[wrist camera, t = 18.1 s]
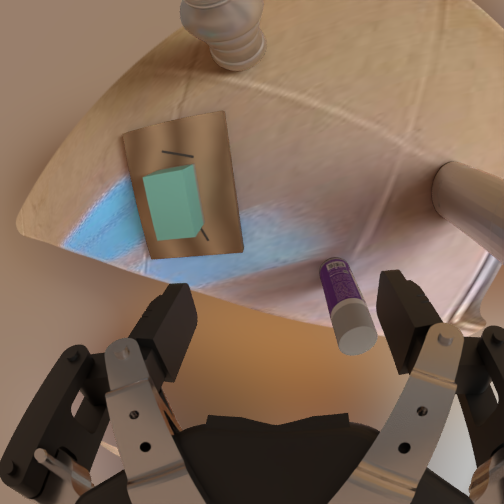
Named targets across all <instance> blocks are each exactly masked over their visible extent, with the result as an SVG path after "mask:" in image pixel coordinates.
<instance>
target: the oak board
mask: <svg viewBox="0 0 504 504" xmlns="http://www.w3.org/2000/svg"><path fill="white" fill-rule="evenodd" d="M123 140H124V146H125V151H126V157H127V162H128V167H129V172H130V177H131V182H132V186H133V191H134V195H135V199H136V204H137V208H138V212H139V216H140V220H141V224H142V228H143V231H144V235H145V239H146V242H147V246H148V249H149V253H150V256H151V259H164V258H177V257H190V256H203V255H216V254H229V253H242V252H243V250H244V245H243V238H242V231H241V224H240V217H239V210H238V203H237V196H236V189H235V182H234V175H233V168H232V160H231V153H230V146H229V139H228V131H227V124H226V117H225V111H218V112H212V113H206V114H201V115H196V116H191V117H186V118H181V119H177V120H172V121H168V122H164V123H160V124H156V125H152V126H148V127H144V128H141V129H137V130H134V131H130V132H127V133H124V134H123ZM193 163H195V169H196V175H197V181H198V186H199V192H200V198H201V203H202V209H203V214H204V220H205V223H204V224H203V226H202V228H201V229H200V231H199V232H198V234H197V235H196V237H191V238H180V239H170V240H160V241H157V237H156V233H155V230H154V226H153V221H152V217H151V213H150V209H149V205H148V200H147V196H146V191H145V186H144V182H143V177H144V176H146V175H149V174H151V173H153V172H155V171H157V170H160V169H165V168H170V167H176V166H182V165H187V164H193Z"/></svg>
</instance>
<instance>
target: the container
mask: <svg viewBox="0 0 504 504" xmlns="http://www.w3.org/2000/svg"><path fill="white" fill-rule="evenodd" d="M319 274H320V278H321V282H322V286H323V290H324V294H325V298H326V302H327V306H328V310H329V314H330V318H331V321H332V325H333V328H334V332H335V336H336V339H337V343H338V347H339V349H340V351H341V352H342V353H344V354H346V355H359V354H362V353H364V352H366V351H368V350H369V349H371V348H372V347H373V346H374V345H375V343H376V341H377V332H376V329H375V326H374V323H373V321H372V318H371V315H370V313H369V310H368V307H367V305H366V302H365V300H364V298H363V296H362V293H361V291H360V289H359V287H358V284H357V282H356V280H355V278H354V276H353V274H352V271H351V269H350V267H349V265H348V263H347V262H346V261H345V260H343V259H341V258H331V259H328V260H327V261H325V262H324V263H323V264H322V266H321V268H320V272H319Z"/></svg>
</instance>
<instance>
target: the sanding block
mask: <svg viewBox="0 0 504 504" xmlns="http://www.w3.org/2000/svg"><path fill="white" fill-rule="evenodd" d="M143 182H144V186H145V191H146V196H147V200H148V205H149V209H150V213H151V217H152V221H153V226H154V230H155V233H156V237H157V241H160V240H170V239H180V238H191V237H196V235H197V234H198V232H199V231H200V229H201V228H202V226H203V224H204V223H205V220H204V214H203V209H202V203H201V198H200V192H199V186H198V181H197V175H196V169H195V163H193V164H187V165H182V166H176V167H170V168H165V169H160V170H157V171H155V172H153V173H151V174H149V175H146V176H144V177H143Z"/></svg>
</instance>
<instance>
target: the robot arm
mask: <svg viewBox="0 0 504 504" xmlns="http://www.w3.org/2000/svg"><path fill="white" fill-rule="evenodd" d="M432 201H433V204H434V207H435V209H436V211H437V212H438V213H439V214H440V215H441V216H442V217H443V218H445V219H446V220H448V221H449V222H450V223H452V224H453V225H454V226H456V227H457V228H458V229H460V230H461V231H462V232H464V233H465V234H466V235H468V236H469V237H470V238H472V239H473V240H474V241H475V242H477V243H478V244H479V245H480V246H482V247H483V248H484V249H485V250H487V251H488V252H489V253H490V254H491V255H492V256H494V257H495V258H496V259H497V260H498V261H500V262H501V263H502V264H503V265H504V179H502V178H499V177H497V176H494V175H492V174H489V173H487V172H484V171H482V170H479V169H476V168H474V167H471V166H468V165H465V164H462V163H459V162H449V163H447V164H445V165H444V166H443V167H442V168H440V170H439V171H438V172H437V174H436V176H435V178H434V182H433V185H432ZM376 311H377V316H378V319H379V321H380V324H381V326H382V329H383V332H384V334H385V337H386V340H387V342H388V345H389V348H390V350H391V353H392V356H393V359H394V362H395V365H396V368H397V370H398V374H399V375H401V374H406V373H409V375H410V376H409V379H408V381H407V383H406V385H405V387H404V390H403V392H402V393H401V395H400V397H399V399H398V401H397V403H396V405H395V407H394V409H393V411H392V412H391V414H390V416H389V418H388V420H387V422H386V423H385V425H384V427H383V428H382V430H381V432H380V431H378V430H376V429H374V428H372V427H370V426H366V425H363V424H359V423H354V422H349V417H348V413H343V414H334V415H323V416H312V417H309V418H305V419H302V420H298V421H294V422H290V423H286V424H281V425H271V424H267V423H262V422H258V421H254V420H250V419H246V418H242V417H228V416H214V415H208V418H207V422H206V424H202V425H198V426H193V427H190V428H187V429H185V430H182V428H181V427H180V425H179V423H178V421H177V419H176V417H175V415H174V413H173V410H172V408H171V406H170V404H169V402H168V400H167V397H166V396H165V393H164V391H163V389H162V384H163V382H164V381H165V382H175V379H176V377H177V374H178V372H179V369H180V366H181V363H182V361H183V359H184V356H185V354H186V351H187V349H188V346H189V343H190V341H191V339H192V336H193V334H194V331H195V329H196V326H197V312H196V308H195V305H194V301H193V298H192V294H191V291H190V288H189V285H188V284H187V283H177V284H169V285H168V287H167V288H166V290H165V292H164V293H163V295H159V296H158V297H157V298H156V299H154V300H153V301H152V302H151V303H150V304H149V306H148V307H147V309H146V311H145V312H144V313H143V315H142V318H140V319H139V321H138V323H137V324H136V326H135V327H134V329H133V330H132V332H131V333H130V335H129V337H128V338H122V339H119V340H116V341H115V342H113V343H112V344H110V345H109V346H108V347H107V349H106V351H105V353H98V354H90V353H89V351H88V349H87V348H86V347H85V346H84V345H74V346H71V347H69V348H68V349H66V350H65V351H64V352H63V353H62V355H61V356H60V358H59V359H58V361H57V362H56V364H55V365H54V367H53V368H52V370H51V371H50V373H49V374H48V376H47V377H46V379H45V380H44V382H43V384H42V385H41V387H40V389H39V390H38V392H37V393H36V395H35V397H34V398H33V400H32V402H31V403H30V405H29V407H28V408H27V410H26V412H25V414H24V415H23V417H22V419H21V421H20V423H19V425H18V426H17V429H16V430H15V432H14V434H13V436H12V438H11V440H10V442H9V444H8V446H7V448H6V450H5V452H4V454H3V456H2V459H1V461H0V477H1V479H2V481H3V482H4V483H5V484H6V485H7V486H9V487H10V488H12V489H13V490H15V491H17V492H18V493H20V494H21V495H22V496H24V497H25V498H27V499H29V500H30V501H32V502H34V503H36V504H504V329H503V328H501V327H499V326H489V327H487V328H485V330H484V331H483V333H482V336H481V338H480V337H479V338H478V337H463V334H462V332H461V331H460V330H459V329H458V328H457V327H455V326H454V325H451V324H448V323H443V321H442V320H441V318H440V317H439V315H438V313H437V312H436V310H435V309H434V307H433V306H432V304H431V302H429V299H428V298H427V296H425V293H424V292H423V291H422V289H421V288H420V286H418V285H417V284H416V283H414V282H413V281H411V280H406V279H405V277H404V276H403V274H402V273H401V271H400V270H388V271H382V272H381V274H380V279H379V287H378V295H377V302H376ZM491 382H493V384H494V386H495V388H496V391H497V393H498V397H499V402H498V403H497V400H496V398H495V395H494V393H493V390H492V388H491V386H490V383H491ZM79 390H80V392H81V393H82V394H83V395H84V399H83V401H82V403H81V405H80V407H79V409H78V411H77V413H76V415H75V417H73V416H72V413H71V406H72V403H73V401H74V399H75V397H76V396H77V394H78V392H79ZM455 394H457V396H458V399H459V402H460V404H461V408H462V411H463V414H464V418H465V421H466V425H467V428H468V432H469V435H470V439H471V443H472V447H473V451H474V456H475V460H476V465H477V469H476V471H475V472H474V474H473V477H472V480H471V484H470V486H469V493H470V495H469V497H468V496H467V495H466V494H464V493H462V492H461V491H460V490H458V489H457V488H455V487H454V486H452V485H451V484H450V483H448V482H447V481H445V480H444V479H442V478H441V477H440V476H438V475H437V474H435V473H434V472H433V471H431V470H430V469H429V468H427V465H428V463H429V461H430V459H431V457H432V454H433V452H434V450H435V448H436V445H437V443H438V441H439V438H440V436H441V433H442V431H443V428H444V426H445V423H446V420H447V417H448V414H449V411H450V408H451V405H452V402H453V399H454V396H455ZM109 421H111V424H112V429H113V433H114V436H115V440H116V444H117V447H118V451H119V454H120V457H121V460H122V463H123V466H124V470H122V471H121V472H119V473H117V474H116V475H114V476H112V477H111V478H109V479H107V480H105V481H104V482H102V483H100V484H99V485H97V486H94V484H93V483H92V482H91V476H90V470H91V467H92V464H93V461H94V459H95V456H96V454H97V451H98V448H99V446H100V443H101V441H102V438H103V436H104V433H105V431H106V428H107V426H108V423H109Z"/></svg>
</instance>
